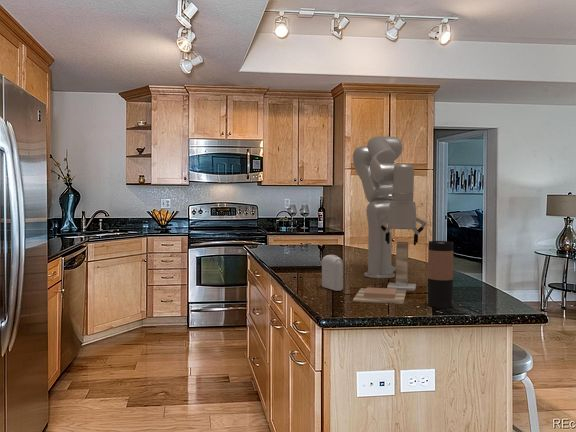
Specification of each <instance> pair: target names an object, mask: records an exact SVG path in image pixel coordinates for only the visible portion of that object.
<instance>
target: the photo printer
mask: <svg viewBox="0 0 576 432" xmlns="http://www.w3.org/2000/svg"><path fill="white" fill-rule="evenodd" d="M321 286H322V288H326V289H328V290H331V291H334V292H337V291H339V292H340V291H342V290H344V261H343V260H342V258H341V257H339V256H338V255H335V254H327V255H325V256H323V258H322V260H321Z"/></svg>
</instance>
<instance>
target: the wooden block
mask: <svg viewBox="0 0 576 432" xmlns="http://www.w3.org/2000/svg"><path fill="white" fill-rule="evenodd" d="M395 246H396V247H395V248H396V252H395V254H396V255H395V266H396V271H395V283H396V286H402V287H407V285H408V282H409V281H408V279H409V276H408V275H409V241H397V242H396V244H395Z"/></svg>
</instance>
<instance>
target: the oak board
mask: <svg viewBox="0 0 576 432" xmlns="http://www.w3.org/2000/svg"><path fill="white" fill-rule="evenodd" d="M366 289H367V288H361V287H360V289H359V290H358V291H357V293H356V294H355V296H354V297H353V299H352V302H361V303H378V304H392V303H393V304H394V305H396V304H397V305H404V304H405V300H406V299H405V298H406V294H407V290H396V296H395V299H381V298H364V292H365V290H366Z"/></svg>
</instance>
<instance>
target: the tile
mask: <svg viewBox="0 0 576 432" xmlns="http://www.w3.org/2000/svg"><path fill="white" fill-rule="evenodd" d="M365 289H366V290H365V292H364V298H381V299H395V296H396V290H397V289H389V288H387V287H386V288H385V287H371V286H370V287H366V288H365Z"/></svg>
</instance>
